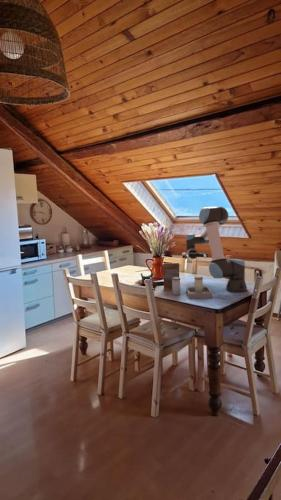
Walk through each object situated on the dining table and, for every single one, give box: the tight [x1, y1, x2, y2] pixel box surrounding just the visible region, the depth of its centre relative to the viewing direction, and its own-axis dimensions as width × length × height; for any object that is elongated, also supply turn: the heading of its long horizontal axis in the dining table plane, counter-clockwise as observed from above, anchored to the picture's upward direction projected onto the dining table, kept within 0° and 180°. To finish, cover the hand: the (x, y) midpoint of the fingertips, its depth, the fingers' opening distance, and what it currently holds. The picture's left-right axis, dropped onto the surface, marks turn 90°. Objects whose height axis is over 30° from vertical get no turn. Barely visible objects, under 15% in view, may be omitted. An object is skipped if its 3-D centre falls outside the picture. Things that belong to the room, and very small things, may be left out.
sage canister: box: [194, 275, 204, 293], centre depth 250 cm, size 6×6×12 cm
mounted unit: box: [162, 262, 180, 292], centre depth 267 cm, size 8×12×20 cm, turn 90°
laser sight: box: [140, 272, 157, 290], centre depth 280 cm, size 10×22×10 cm, turn 16°
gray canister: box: [171, 276, 181, 296], centre depth 253 cm, size 6×6×12 cm
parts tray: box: [185, 286, 213, 299], centre depth 251 cm, size 16×16×4 cm
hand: (196, 257), depth 267 cm, fingers open, 13 cm apart
